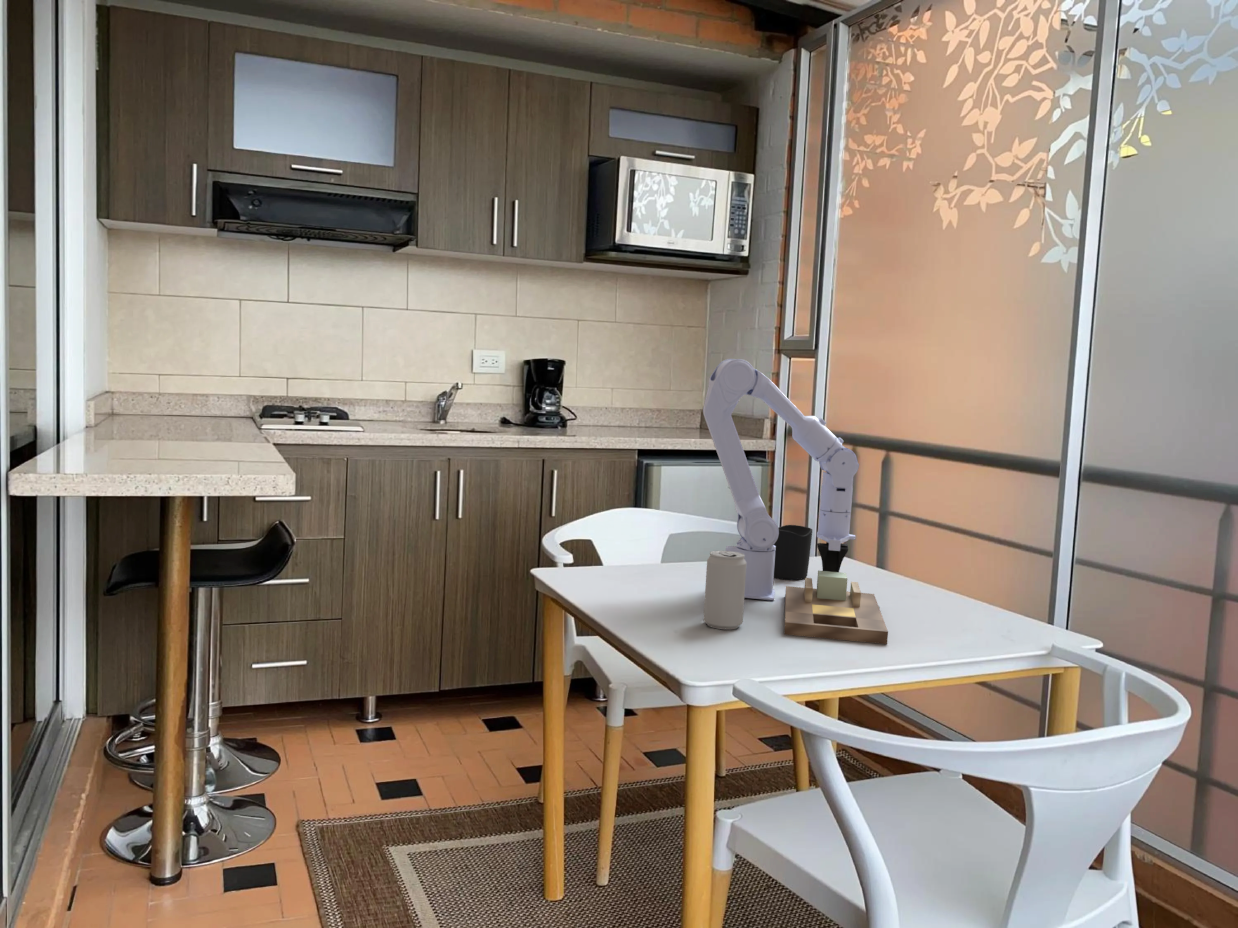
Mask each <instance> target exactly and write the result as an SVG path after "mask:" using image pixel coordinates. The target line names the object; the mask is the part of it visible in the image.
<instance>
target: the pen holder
mask: <svg viewBox="0 0 1238 928" xmlns="http://www.w3.org/2000/svg"><path fill="white" fill-rule="evenodd" d="M778 529H779V535H778V539H777V541H776V542H775V544H774V546H776V549H775V564H774V578H773V579H778V580H785V581H791V580H792V581H799V580H805V578H808V571H809V563H810V556H811V549H812V548H811V547H812V538H813V537H812V536H813V529H812V528H811V527H808V526H802V525H796V524H784V525H782V526H780V527H779V526H778Z"/></svg>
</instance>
